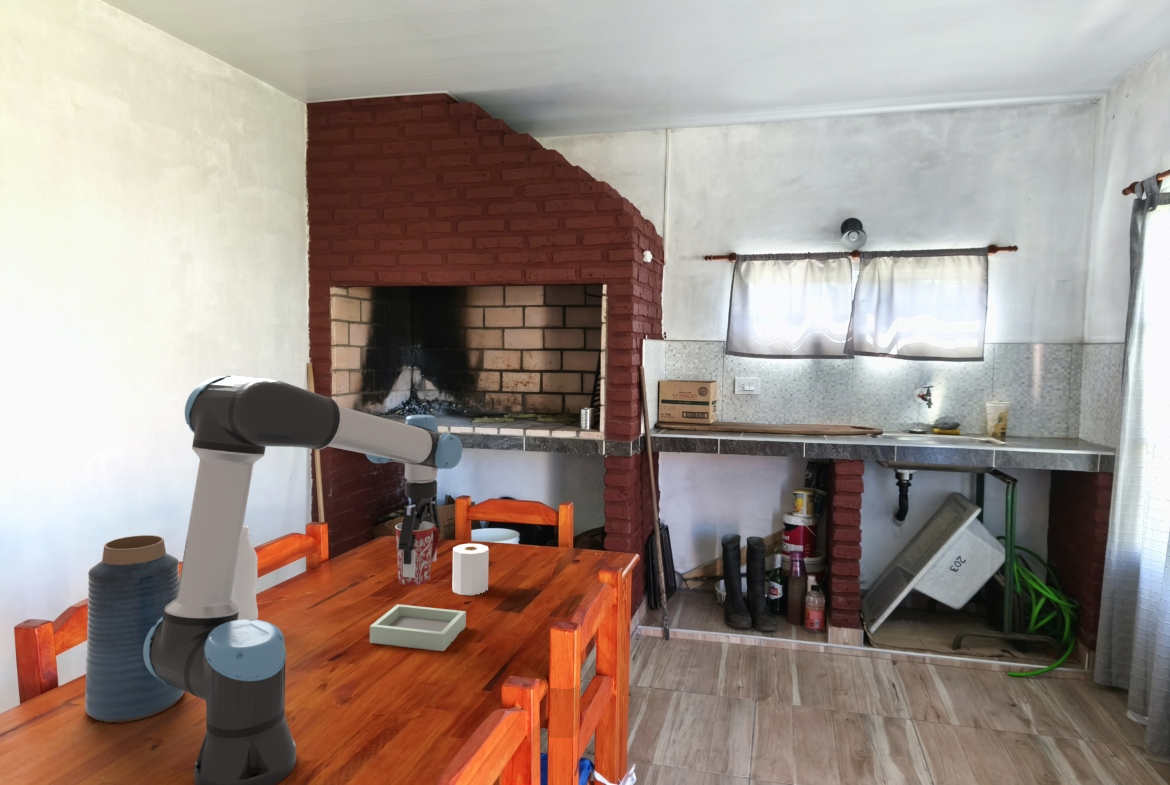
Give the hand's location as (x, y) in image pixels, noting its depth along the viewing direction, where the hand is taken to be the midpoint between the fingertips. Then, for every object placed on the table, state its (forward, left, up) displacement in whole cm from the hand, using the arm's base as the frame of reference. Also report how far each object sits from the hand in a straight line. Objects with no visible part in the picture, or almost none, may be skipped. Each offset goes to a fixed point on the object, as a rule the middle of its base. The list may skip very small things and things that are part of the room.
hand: (420, 568), depth 170 cm
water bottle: (-7, +43, -17) cm, 47 cm away
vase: (-43, +39, -17) cm, 60 cm away
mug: (0, 0, -3) cm, 3 cm away
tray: (0, 0, -16) cm, 16 cm away
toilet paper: (+33, -1, -17) cm, 37 cm away
